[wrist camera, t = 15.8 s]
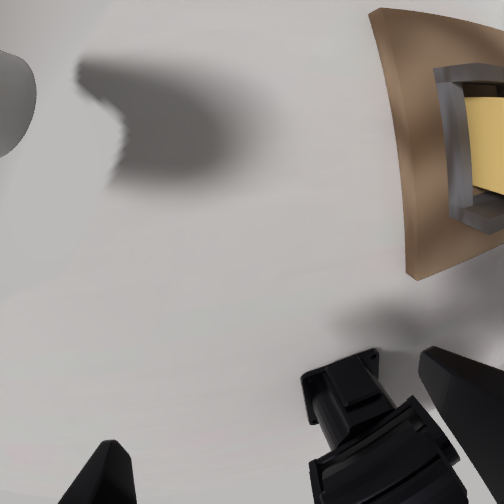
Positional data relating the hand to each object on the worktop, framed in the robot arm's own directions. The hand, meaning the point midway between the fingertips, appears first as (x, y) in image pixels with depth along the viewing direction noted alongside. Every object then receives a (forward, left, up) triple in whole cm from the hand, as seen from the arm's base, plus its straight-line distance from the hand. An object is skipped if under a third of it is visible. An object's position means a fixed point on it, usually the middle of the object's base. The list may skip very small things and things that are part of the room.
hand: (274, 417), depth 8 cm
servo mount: (+4, -19, -12) cm, 23 cm away
